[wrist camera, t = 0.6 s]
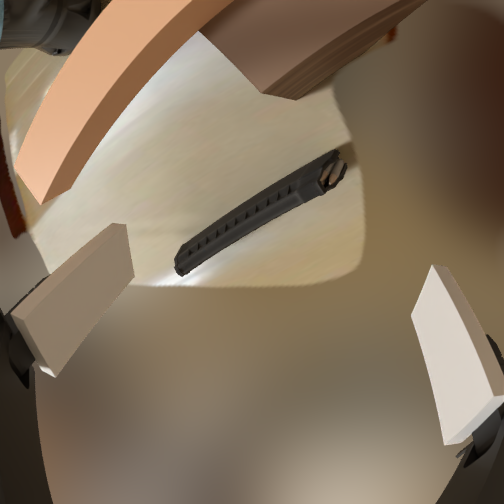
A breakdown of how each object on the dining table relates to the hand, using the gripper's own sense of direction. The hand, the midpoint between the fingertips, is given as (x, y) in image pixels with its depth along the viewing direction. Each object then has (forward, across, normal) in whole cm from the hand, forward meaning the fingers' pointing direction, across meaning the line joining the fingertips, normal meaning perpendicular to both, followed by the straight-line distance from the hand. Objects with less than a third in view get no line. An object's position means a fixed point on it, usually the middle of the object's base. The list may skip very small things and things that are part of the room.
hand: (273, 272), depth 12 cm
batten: (+2, -3, +13) cm, 13 cm away
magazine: (+34, -6, -10) cm, 36 cm away
